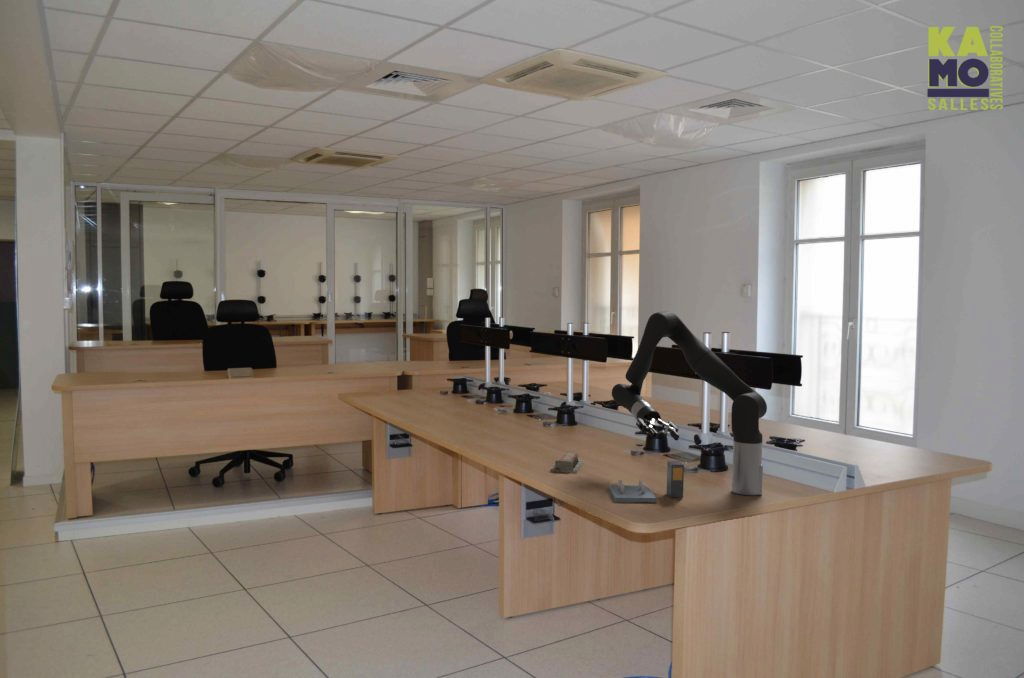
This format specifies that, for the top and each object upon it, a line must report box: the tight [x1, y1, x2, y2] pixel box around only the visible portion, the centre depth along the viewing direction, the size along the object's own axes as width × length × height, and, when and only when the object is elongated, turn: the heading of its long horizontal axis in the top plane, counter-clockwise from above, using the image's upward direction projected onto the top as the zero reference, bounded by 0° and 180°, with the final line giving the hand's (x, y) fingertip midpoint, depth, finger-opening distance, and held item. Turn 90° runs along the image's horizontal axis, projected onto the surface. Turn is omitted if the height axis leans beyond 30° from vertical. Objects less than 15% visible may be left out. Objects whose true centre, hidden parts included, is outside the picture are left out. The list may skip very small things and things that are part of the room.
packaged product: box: [550, 451, 584, 474], centre depth 287 cm, size 18×5×10 cm
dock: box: [607, 479, 657, 504], centre depth 245 cm, size 13×16×4 cm
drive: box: [666, 460, 685, 499], centre depth 246 cm, size 4×6×11 cm, turn 1°
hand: (667, 437), depth 256 cm, fingers open, 8 cm apart
